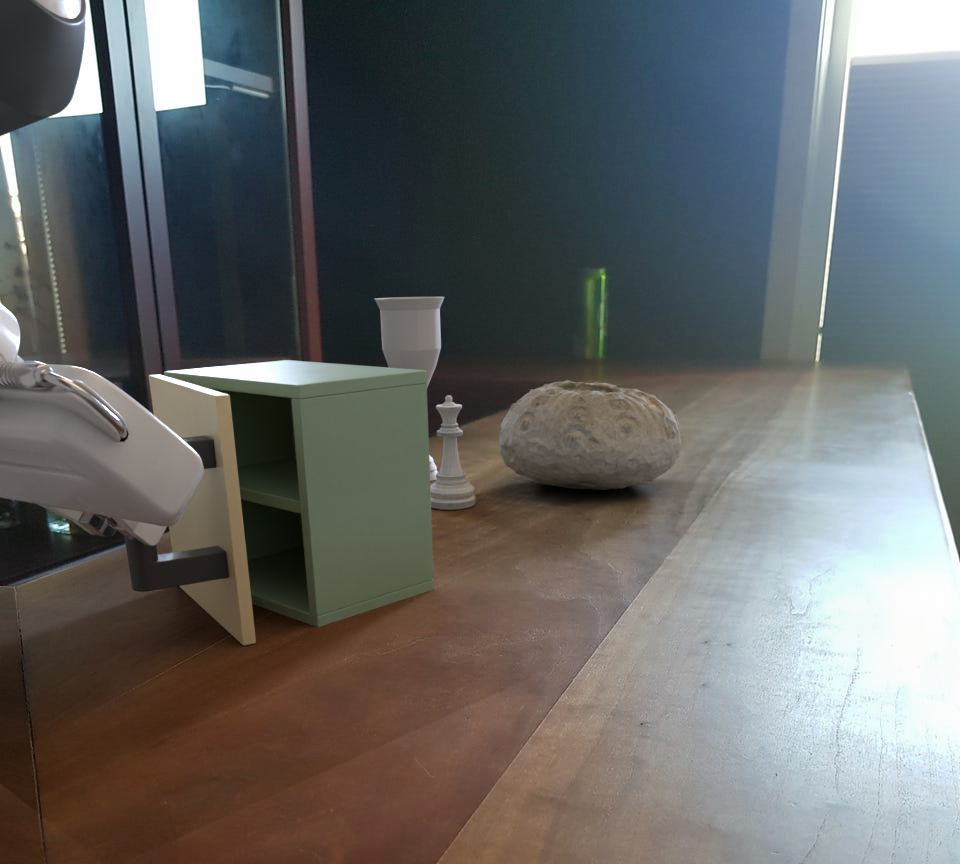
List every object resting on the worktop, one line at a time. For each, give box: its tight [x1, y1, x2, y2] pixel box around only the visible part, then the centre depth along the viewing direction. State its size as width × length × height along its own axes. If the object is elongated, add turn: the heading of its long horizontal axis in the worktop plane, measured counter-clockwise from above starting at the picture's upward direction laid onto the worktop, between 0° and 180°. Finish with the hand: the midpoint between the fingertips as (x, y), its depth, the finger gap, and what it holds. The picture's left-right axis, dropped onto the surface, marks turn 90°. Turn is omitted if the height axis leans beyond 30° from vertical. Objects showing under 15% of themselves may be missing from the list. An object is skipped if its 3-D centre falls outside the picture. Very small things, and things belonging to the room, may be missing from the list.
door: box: [123, 373, 257, 646], centre depth 59 cm, size 6×15×14 cm, turn 31°
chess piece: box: [430, 394, 476, 511], centre depth 90 cm, size 4×4×10 cm
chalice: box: [374, 296, 445, 482], centre depth 101 cm, size 7×7×18 cm
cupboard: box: [163, 359, 435, 628], centre depth 66 cm, size 10×15×15 cm
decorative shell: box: [498, 379, 682, 491], centre depth 96 cm, size 18×18×10 cm
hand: (131, 529), depth 54 cm, fingers closed
